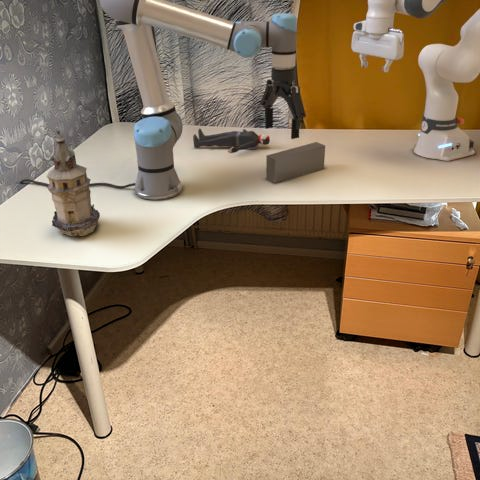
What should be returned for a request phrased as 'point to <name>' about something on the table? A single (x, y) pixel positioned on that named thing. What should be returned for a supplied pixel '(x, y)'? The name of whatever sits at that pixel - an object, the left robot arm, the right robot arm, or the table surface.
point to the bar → (295, 162)
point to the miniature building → (70, 193)
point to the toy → (231, 140)
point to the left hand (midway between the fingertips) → (281, 132)
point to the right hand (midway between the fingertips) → (374, 69)
